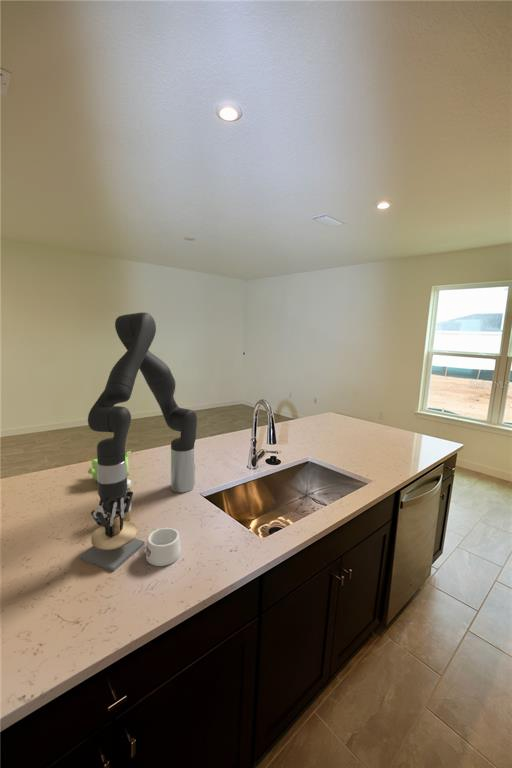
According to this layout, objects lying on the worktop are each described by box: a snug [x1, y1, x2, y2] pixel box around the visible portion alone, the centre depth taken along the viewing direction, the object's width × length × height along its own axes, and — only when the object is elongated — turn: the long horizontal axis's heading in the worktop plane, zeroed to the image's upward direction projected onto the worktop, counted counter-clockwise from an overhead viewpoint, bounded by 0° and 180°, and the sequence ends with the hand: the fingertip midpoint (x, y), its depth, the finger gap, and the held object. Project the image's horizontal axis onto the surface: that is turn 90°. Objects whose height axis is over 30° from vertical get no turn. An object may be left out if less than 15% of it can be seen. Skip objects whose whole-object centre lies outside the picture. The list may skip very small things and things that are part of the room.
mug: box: [145, 527, 182, 567], centre depth 91 cm, size 12×10×6 cm
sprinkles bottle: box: [123, 478, 132, 521], centre depth 107 cm, size 5×5×13 cm
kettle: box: [87, 450, 132, 481], centre depth 134 cm, size 15×14×11 cm
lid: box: [90, 514, 138, 550], centre depth 91 cm, size 12×12×6 cm
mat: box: [79, 537, 145, 572], centre depth 92 cm, size 12×12×1 cm
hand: (114, 532), depth 91 cm, fingers closed on lid, 2 cm apart
